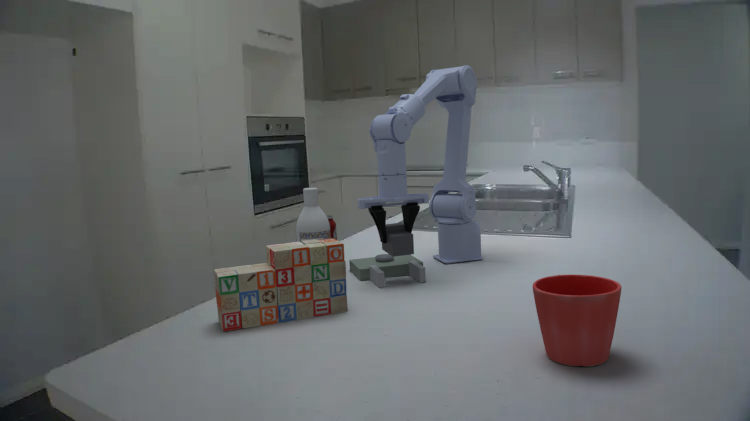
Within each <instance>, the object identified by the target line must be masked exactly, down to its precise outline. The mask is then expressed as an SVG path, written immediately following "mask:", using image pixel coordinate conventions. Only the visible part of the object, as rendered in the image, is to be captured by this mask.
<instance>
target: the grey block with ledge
mask: <svg viewBox="0 0 750 421" xmlns="http://www.w3.org/2000/svg"><path fill="white" fill-rule="evenodd" d="M386 237H387V243H382V242H381V250H382V251H384V252H385V253H386V254H390V255H391V256H393V257H395V256H403V255H414V254H415V244H414V234H413V233H410V232H408V231H406V230H405V224H404V223H402V222H395V223H386Z"/></svg>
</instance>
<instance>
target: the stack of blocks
mask: <svg viewBox="0 0 750 421" xmlns="http://www.w3.org/2000/svg"><path fill="white" fill-rule="evenodd" d="M265 251H266V255H265V256H266V262H263V263H262V262H261V263H254V264H247V265H246V264H245V265H239V266H237V265H236V266H232V267H231V266H230V267H229V266H228V267H221V268H215V269H213V272H214V274H213V275H214V285H215V286H214V288H215V289H214V290H215V298H216V299H215V300H216V309H217V318H218V323H219V324H220V330H222V332H228V331H234V330H240V329H249V328H255V327H256V328H257V327H260V326H266V325H267V326H268V325H274V324H279V323H285V322H290V321H296V320H302V319H309V318H314V317H321V316H326V315H327V316H328V315H332V314H333V315H334V314H338V313H345V312H348V311H349V310H348V295H347V294H348V293H347V265H346V263H347V262H346V260H345V244H344V243H343V242H342V241H340V240H338V239H337V240H336V239H333V238H332V239H323V240H317V239H314V240H305V241H301V242H297V241H293V242H285V243H277V244H269V245H265Z"/></svg>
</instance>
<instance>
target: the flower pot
mask: <svg viewBox="0 0 750 421" xmlns="http://www.w3.org/2000/svg"><path fill="white" fill-rule="evenodd" d="M532 292H533V293H532V294H533V299H534V304H535V310H536V314H537V315H536V316H537V320H538V324H539V329H540V332H541V337H542V342H543V344H544V345H543V346H544V350H545V355H546V356H547V357H548V358H549V359H550V360H552V361H553V362H555V363H557V364H562V365H565V366H570V367H580V366H582V367H594V366H599V365H602V364H604V363H606V362H607V361H608V359H610V358H609V357H610V352H611V348H612V344H613V340H614V335H615V329H616V323H617V318H618V312H619V307H620V302H621V295H622V285H621V283H620V282H618V281H616V280H613V279H611V278H607V277H603V276H602V277H601V276H596V275H591V274H589V275H588V274H556V275H550V276H545V277H542V278H541V277H540V278H538V279H537V280H535V281H534V282H533V283H532Z"/></svg>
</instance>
